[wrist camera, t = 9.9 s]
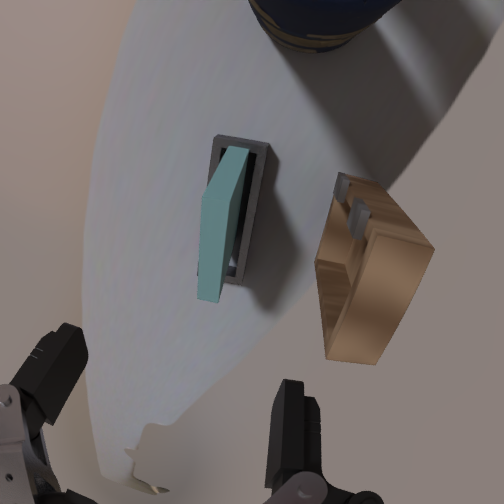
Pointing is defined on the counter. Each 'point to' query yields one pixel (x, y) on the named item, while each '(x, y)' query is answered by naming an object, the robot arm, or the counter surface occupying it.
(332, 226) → the cabinet
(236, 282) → the grey rectangular frame
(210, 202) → the door panel
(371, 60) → the counter surface
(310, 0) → the canister
